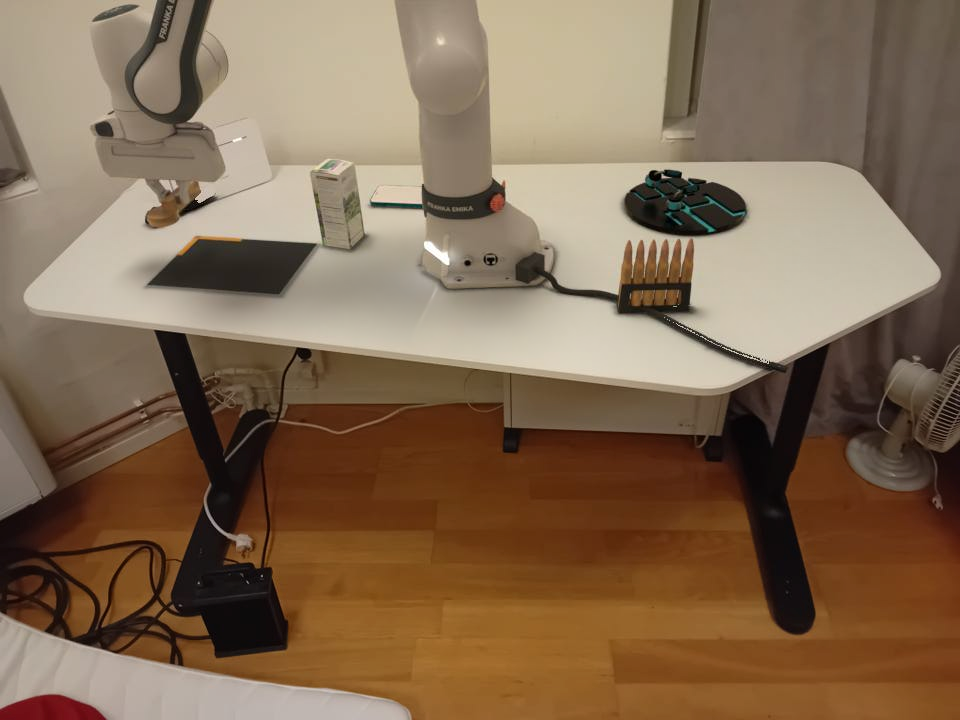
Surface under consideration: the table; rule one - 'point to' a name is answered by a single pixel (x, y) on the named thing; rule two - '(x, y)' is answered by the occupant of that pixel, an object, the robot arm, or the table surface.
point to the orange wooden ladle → (171, 207)
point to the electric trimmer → (188, 207)
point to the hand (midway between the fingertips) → (175, 202)
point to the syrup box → (337, 203)
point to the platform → (683, 205)
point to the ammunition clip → (656, 279)
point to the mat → (234, 265)
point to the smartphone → (397, 196)
